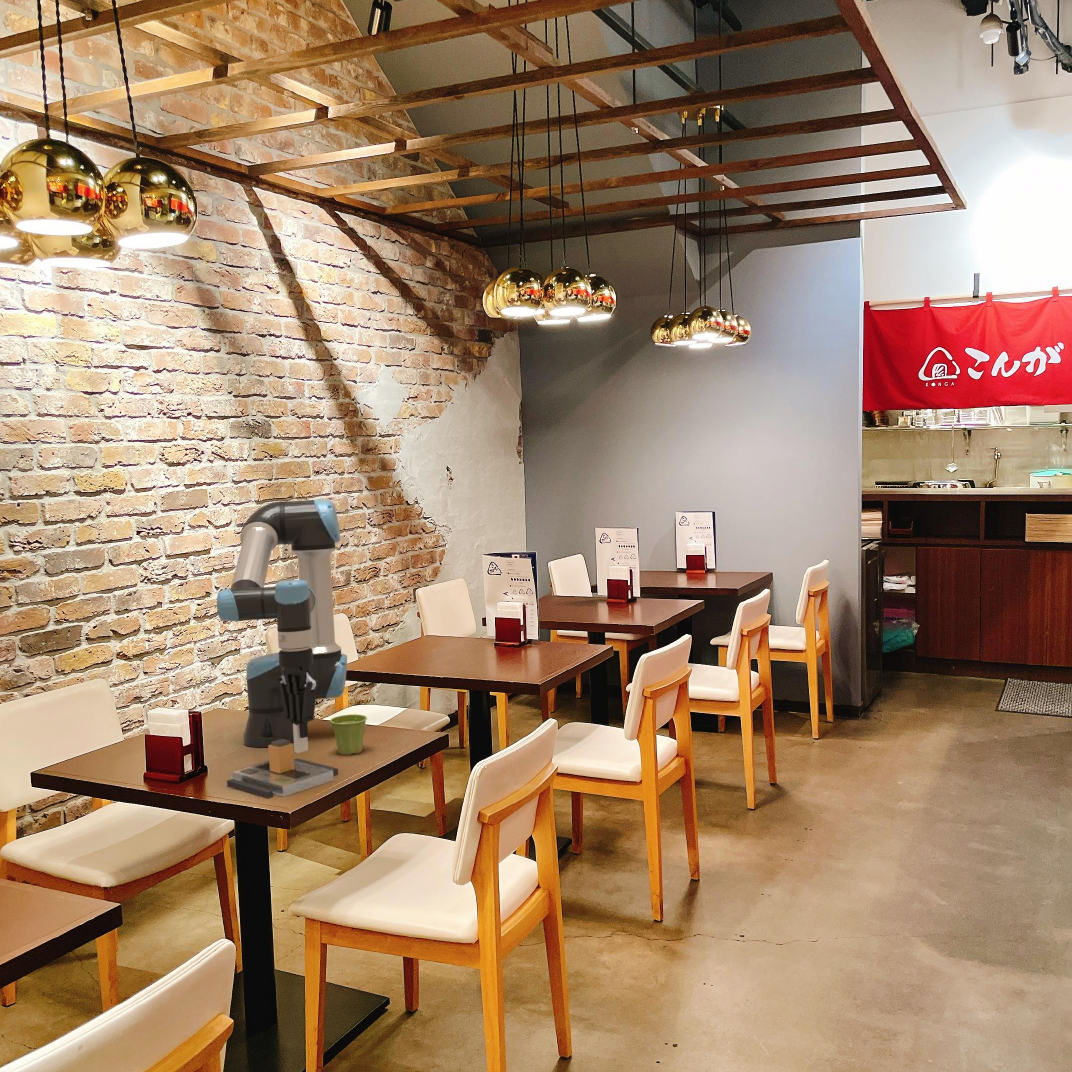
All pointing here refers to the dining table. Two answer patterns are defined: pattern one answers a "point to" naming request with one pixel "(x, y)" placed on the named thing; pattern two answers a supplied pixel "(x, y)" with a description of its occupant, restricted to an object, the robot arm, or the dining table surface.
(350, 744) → the plant pot
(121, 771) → the dining table surface
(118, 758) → the dining table surface
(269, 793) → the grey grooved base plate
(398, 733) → the dining table surface
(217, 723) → the dining table surface
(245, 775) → the panel
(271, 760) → the tan rectangular block
